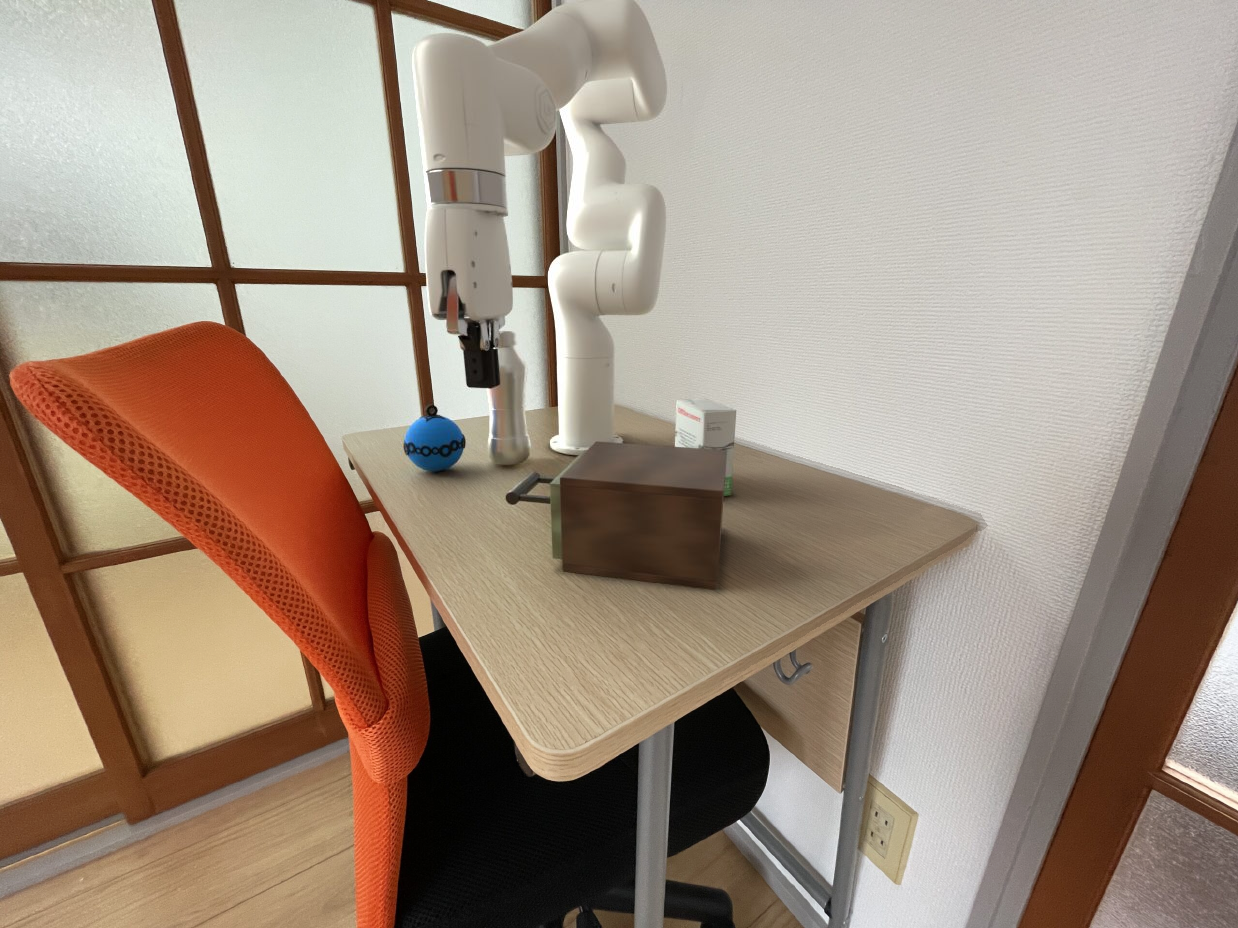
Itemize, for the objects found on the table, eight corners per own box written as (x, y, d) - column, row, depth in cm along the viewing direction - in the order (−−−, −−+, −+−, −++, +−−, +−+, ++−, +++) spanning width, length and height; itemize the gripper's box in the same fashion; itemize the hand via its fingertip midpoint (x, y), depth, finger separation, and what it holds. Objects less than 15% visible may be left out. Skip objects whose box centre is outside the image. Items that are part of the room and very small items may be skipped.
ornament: (418, 484, 73) (410, 413, 70) (399, 468, 80) (391, 403, 77) (477, 472, 78) (471, 406, 75) (454, 458, 85) (448, 397, 82)
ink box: (732, 496, 70) (739, 408, 66) (699, 500, 68) (704, 411, 64) (702, 475, 77) (707, 396, 74) (671, 479, 76) (674, 398, 72)
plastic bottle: (480, 463, 82) (469, 332, 76) (515, 454, 87) (508, 329, 81) (504, 472, 78) (495, 334, 72) (540, 462, 83) (535, 332, 77)
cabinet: (562, 571, 51) (559, 477, 48) (596, 519, 62) (595, 441, 59) (715, 590, 48) (723, 490, 45) (721, 531, 59) (727, 450, 56)
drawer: (497, 552, 52) (492, 478, 50) (539, 508, 63) (536, 446, 61) (691, 575, 48) (695, 496, 46) (700, 524, 59) (704, 458, 57)
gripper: (469, 209, 59) (483, 374, 65) (384, 187, 45) (412, 399, 51) (533, 207, 57) (541, 376, 63) (465, 184, 43) (484, 403, 49)
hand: (483, 386), depth 57 cm, fingers closed
